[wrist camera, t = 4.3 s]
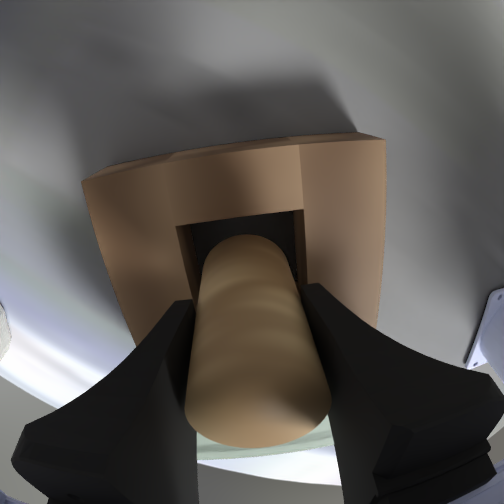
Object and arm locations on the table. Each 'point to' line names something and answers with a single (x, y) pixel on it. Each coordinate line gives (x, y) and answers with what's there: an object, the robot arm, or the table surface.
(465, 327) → the table surface
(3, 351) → the paper towel roll
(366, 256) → the socket block
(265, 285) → the peg
